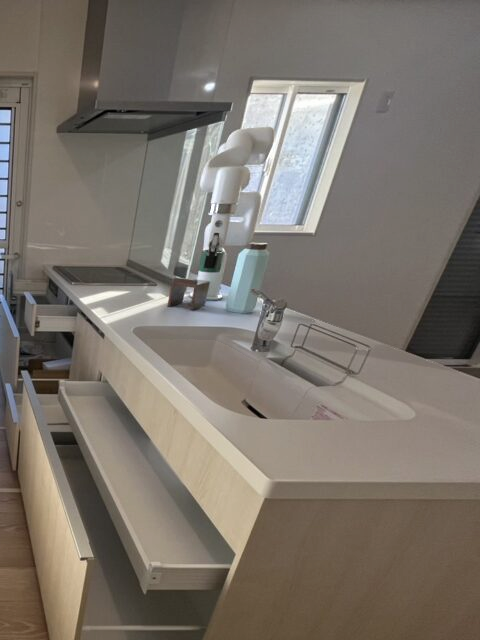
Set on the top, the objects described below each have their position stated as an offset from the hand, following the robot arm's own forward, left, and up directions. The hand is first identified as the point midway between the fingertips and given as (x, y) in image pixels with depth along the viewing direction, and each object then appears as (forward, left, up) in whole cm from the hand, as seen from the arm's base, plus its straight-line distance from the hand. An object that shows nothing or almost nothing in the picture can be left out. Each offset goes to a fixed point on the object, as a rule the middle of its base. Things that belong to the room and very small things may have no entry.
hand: (209, 265), depth 140 cm
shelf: (-19, -13, -19) cm, 30 cm away
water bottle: (-27, +4, -20) cm, 33 cm away
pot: (0, 0, -2) cm, 2 cm away
